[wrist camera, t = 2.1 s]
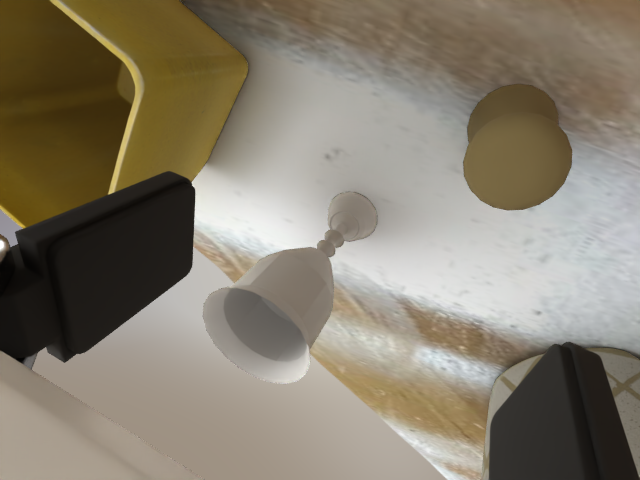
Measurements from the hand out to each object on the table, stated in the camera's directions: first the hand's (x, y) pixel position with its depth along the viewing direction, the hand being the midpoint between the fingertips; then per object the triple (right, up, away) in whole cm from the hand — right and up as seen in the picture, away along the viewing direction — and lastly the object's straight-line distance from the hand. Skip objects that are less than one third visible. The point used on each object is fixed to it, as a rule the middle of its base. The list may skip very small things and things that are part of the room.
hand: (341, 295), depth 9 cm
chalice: (+3, +4, +27) cm, 28 cm away
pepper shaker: (+14, +10, +19) cm, 25 cm away
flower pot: (-14, +17, +28) cm, 36 cm away
